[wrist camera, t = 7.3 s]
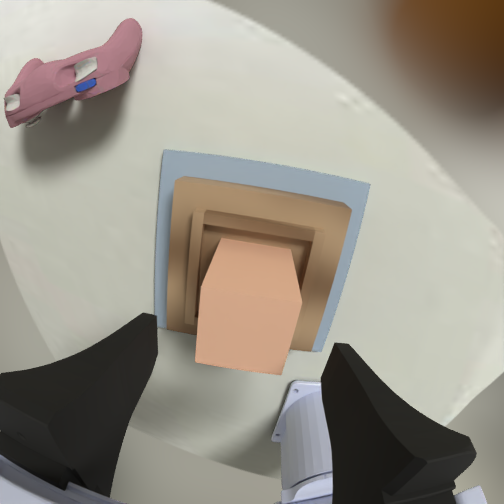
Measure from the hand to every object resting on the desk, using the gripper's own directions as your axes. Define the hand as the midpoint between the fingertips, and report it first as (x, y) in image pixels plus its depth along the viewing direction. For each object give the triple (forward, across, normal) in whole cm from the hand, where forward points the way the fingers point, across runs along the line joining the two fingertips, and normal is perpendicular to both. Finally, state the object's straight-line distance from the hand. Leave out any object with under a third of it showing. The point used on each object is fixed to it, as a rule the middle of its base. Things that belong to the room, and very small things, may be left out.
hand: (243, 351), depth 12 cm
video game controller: (+10, +14, -12) cm, 20 cm away
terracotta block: (+7, 0, 0) cm, 7 cm away
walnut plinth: (+9, 0, 0) cm, 9 cm away
